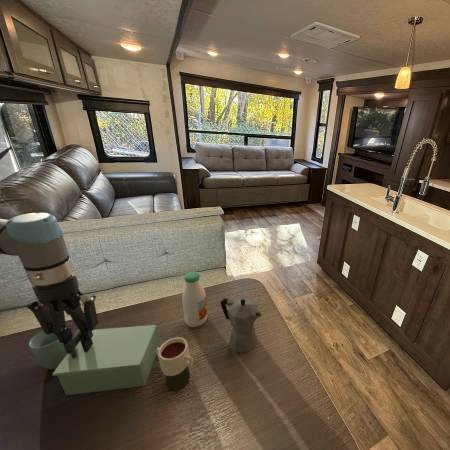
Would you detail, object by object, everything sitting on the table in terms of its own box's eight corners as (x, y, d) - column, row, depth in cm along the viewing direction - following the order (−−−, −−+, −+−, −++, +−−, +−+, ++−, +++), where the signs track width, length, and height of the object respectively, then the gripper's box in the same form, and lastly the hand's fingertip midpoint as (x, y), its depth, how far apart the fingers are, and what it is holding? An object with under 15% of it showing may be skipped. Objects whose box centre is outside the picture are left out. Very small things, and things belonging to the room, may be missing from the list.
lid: (53, 376, 61) (45, 359, 59) (85, 332, 73) (79, 317, 71) (140, 366, 65) (136, 350, 63) (156, 326, 77) (153, 311, 75)
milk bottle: (192, 331, 86) (187, 285, 78) (180, 320, 90) (174, 275, 82) (211, 319, 92) (208, 274, 84) (199, 309, 96) (195, 266, 88)
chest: (66, 395, 64) (57, 375, 61) (94, 350, 76) (88, 332, 73) (144, 385, 68) (140, 366, 65) (160, 344, 80) (156, 326, 77)
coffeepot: (266, 338, 86) (268, 298, 79) (251, 360, 78) (252, 317, 71) (230, 322, 91) (229, 283, 84) (213, 341, 83) (210, 299, 76)
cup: (37, 365, 71) (23, 339, 67) (71, 346, 77) (60, 321, 73) (47, 379, 67) (33, 353, 64) (82, 357, 74) (71, 333, 70)
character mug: (202, 374, 73) (199, 342, 68) (187, 398, 66) (182, 365, 61) (170, 364, 75) (164, 332, 69) (152, 387, 68) (144, 354, 63)
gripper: (-4, 289, 53) (34, 364, 62) (84, 285, 56) (107, 357, 66) (24, 270, 60) (54, 340, 69) (101, 267, 63) (120, 334, 72)
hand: (80, 348), depth 67 cm, fingers closed on lid, 3 cm apart
